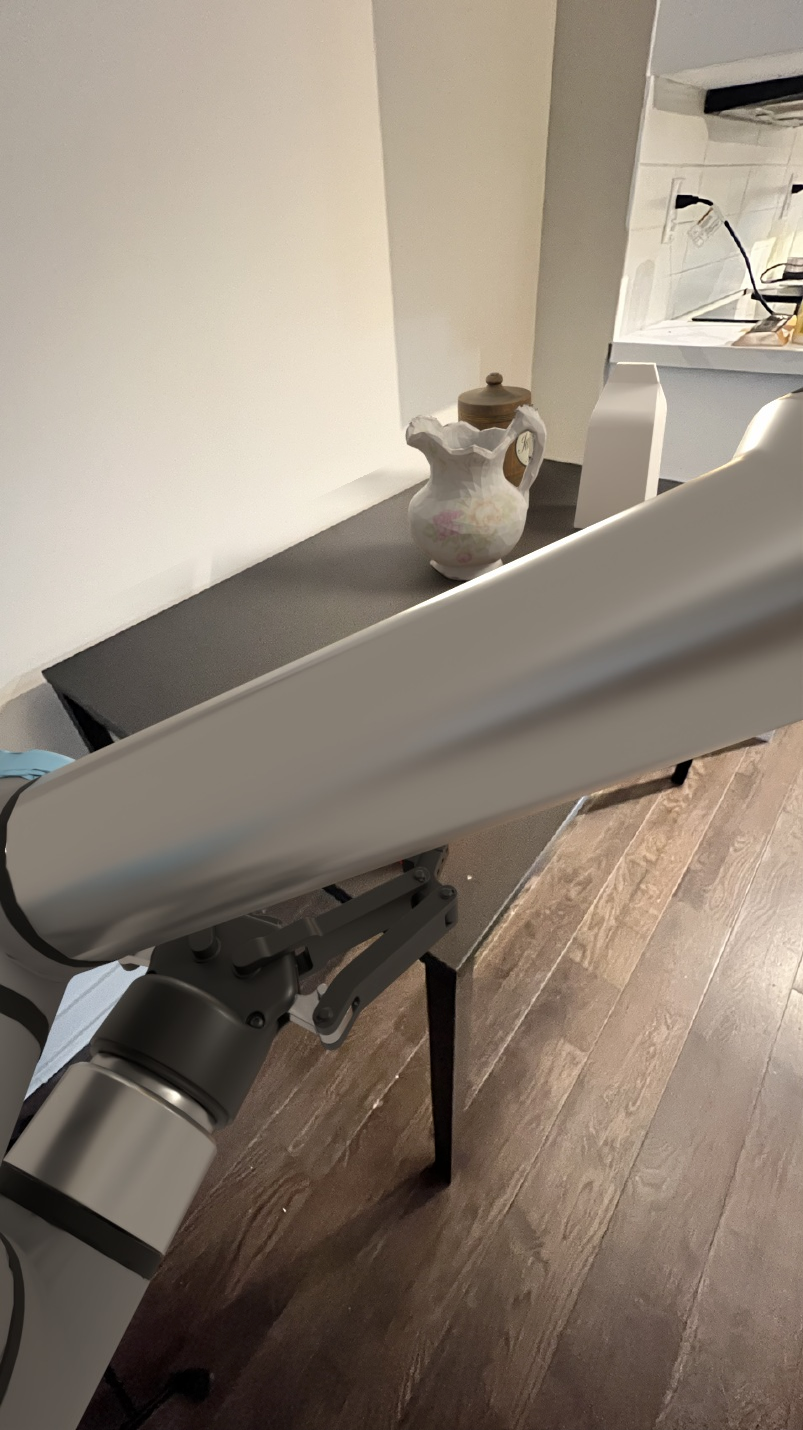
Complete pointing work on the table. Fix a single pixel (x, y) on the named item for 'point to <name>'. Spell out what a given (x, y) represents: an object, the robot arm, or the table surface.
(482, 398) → the wooden container
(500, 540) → the ceramic pitcher
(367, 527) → the table surface
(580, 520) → the milk
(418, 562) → the table surface
